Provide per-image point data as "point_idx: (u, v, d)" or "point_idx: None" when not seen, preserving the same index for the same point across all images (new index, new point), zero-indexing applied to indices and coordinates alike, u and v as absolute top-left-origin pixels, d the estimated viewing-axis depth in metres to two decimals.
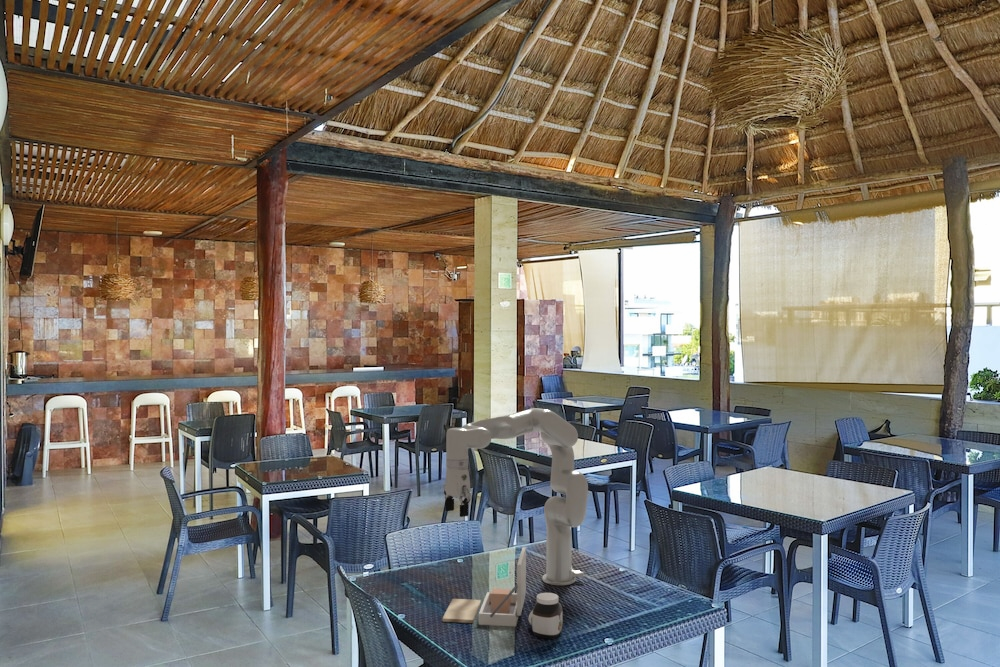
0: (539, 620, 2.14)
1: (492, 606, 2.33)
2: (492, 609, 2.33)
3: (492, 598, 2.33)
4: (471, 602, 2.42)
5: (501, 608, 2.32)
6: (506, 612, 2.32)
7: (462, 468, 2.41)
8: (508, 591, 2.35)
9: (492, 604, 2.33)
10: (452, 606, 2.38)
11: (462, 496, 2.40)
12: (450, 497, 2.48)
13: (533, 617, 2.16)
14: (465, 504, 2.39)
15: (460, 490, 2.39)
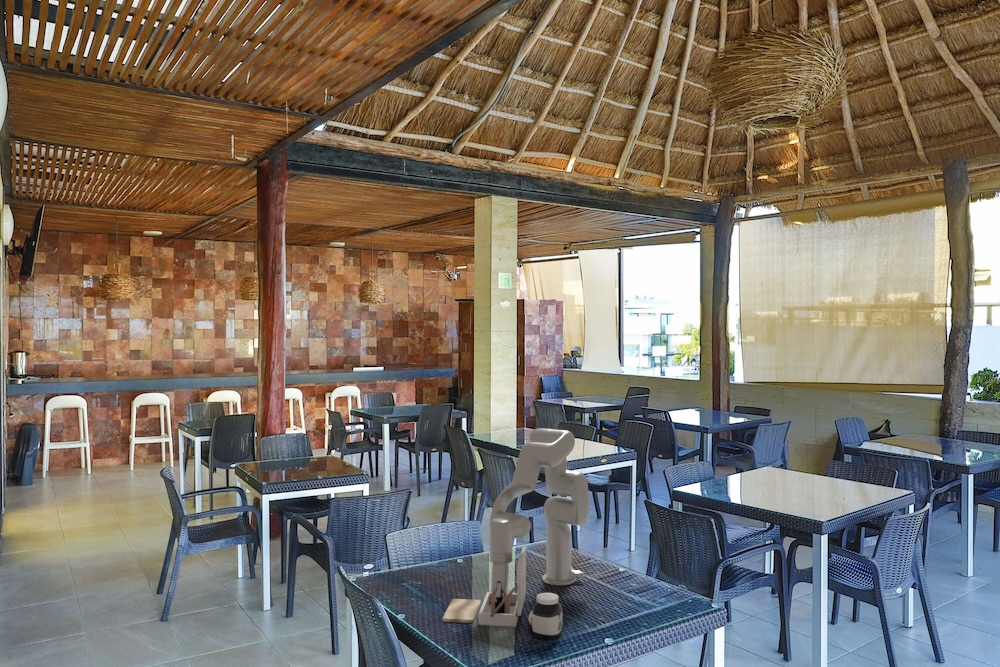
0: (539, 620, 2.14)
1: (492, 606, 2.33)
2: (492, 609, 2.33)
3: (492, 598, 2.33)
4: (471, 602, 2.42)
5: None
6: (506, 612, 2.32)
7: None
8: (508, 591, 2.35)
9: (492, 604, 2.33)
10: (452, 606, 2.38)
11: None
12: None
13: (533, 617, 2.16)
14: None
15: None
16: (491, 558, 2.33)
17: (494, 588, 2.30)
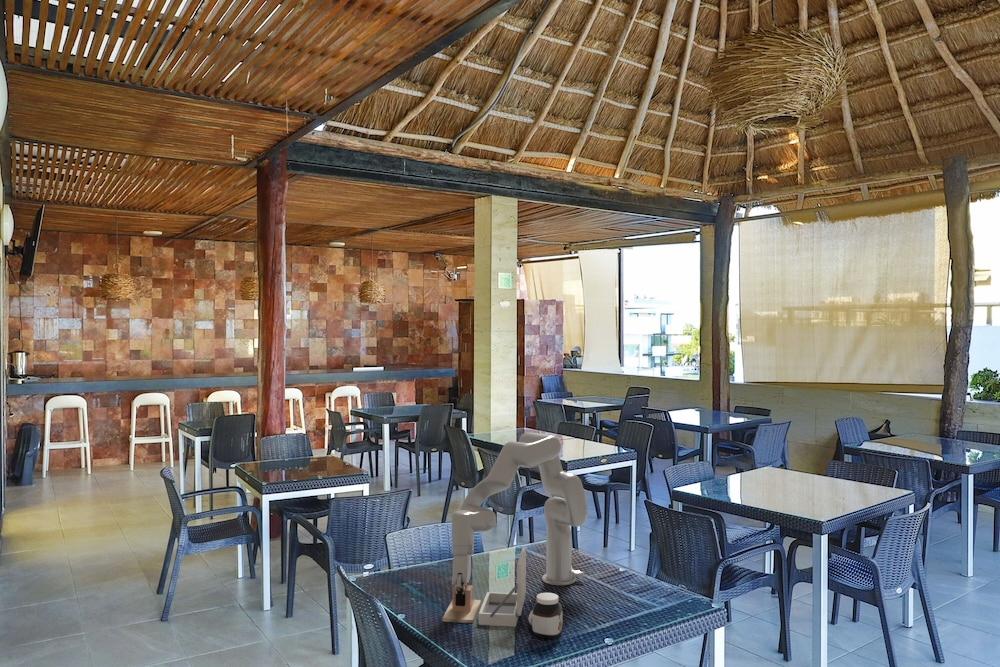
0: (539, 620, 2.14)
1: (453, 602, 2.34)
2: (453, 605, 2.34)
3: (453, 594, 2.35)
4: None
5: None
6: (467, 608, 2.34)
7: None
8: (470, 587, 2.37)
9: (453, 600, 2.34)
10: None
11: None
12: None
13: (533, 617, 2.16)
14: None
15: None
16: (452, 550, 2.35)
17: (455, 578, 2.32)
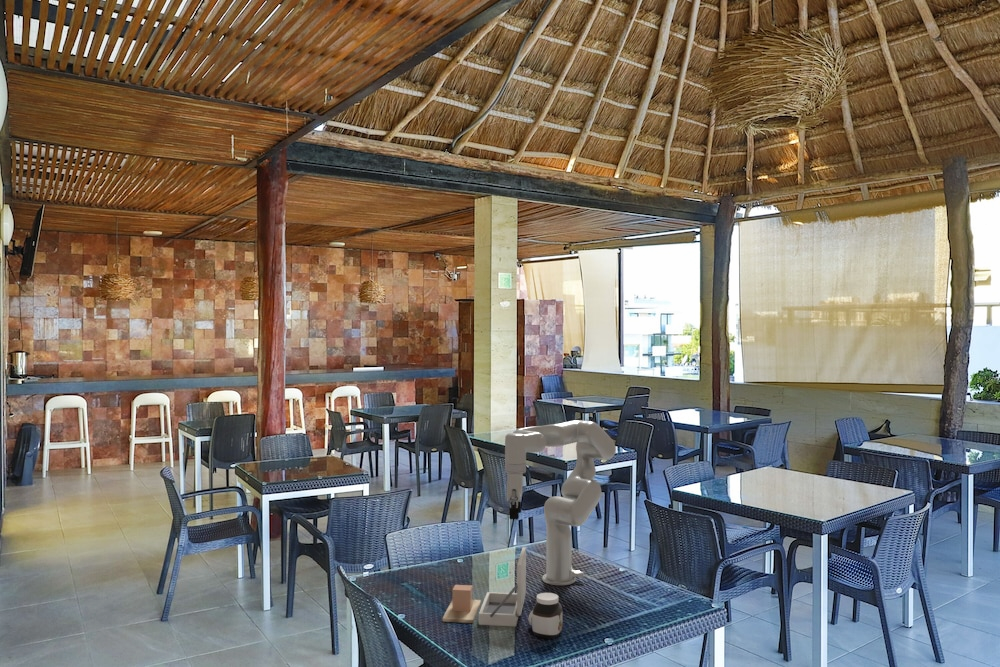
0: (539, 620, 2.14)
1: (453, 602, 2.34)
2: (453, 605, 2.34)
3: (453, 594, 2.35)
4: None
5: (462, 604, 2.34)
6: (467, 608, 2.34)
7: None
8: (470, 587, 2.37)
9: (453, 600, 2.34)
10: None
11: None
12: None
13: (533, 617, 2.16)
14: None
15: None
16: (506, 469, 2.51)
17: (509, 492, 2.48)
